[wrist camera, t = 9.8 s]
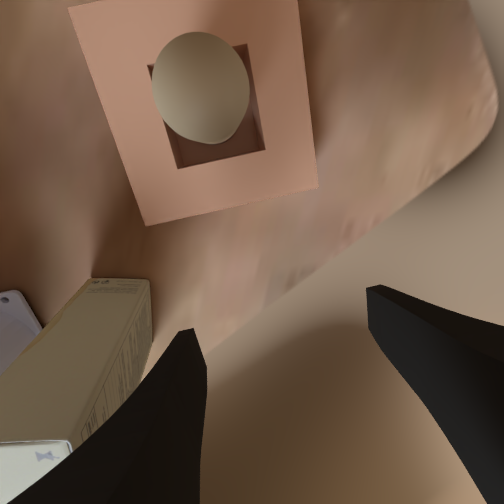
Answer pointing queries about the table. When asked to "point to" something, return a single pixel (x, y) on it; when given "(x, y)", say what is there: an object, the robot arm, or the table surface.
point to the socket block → (185, 150)
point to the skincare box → (72, 378)
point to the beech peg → (201, 87)
